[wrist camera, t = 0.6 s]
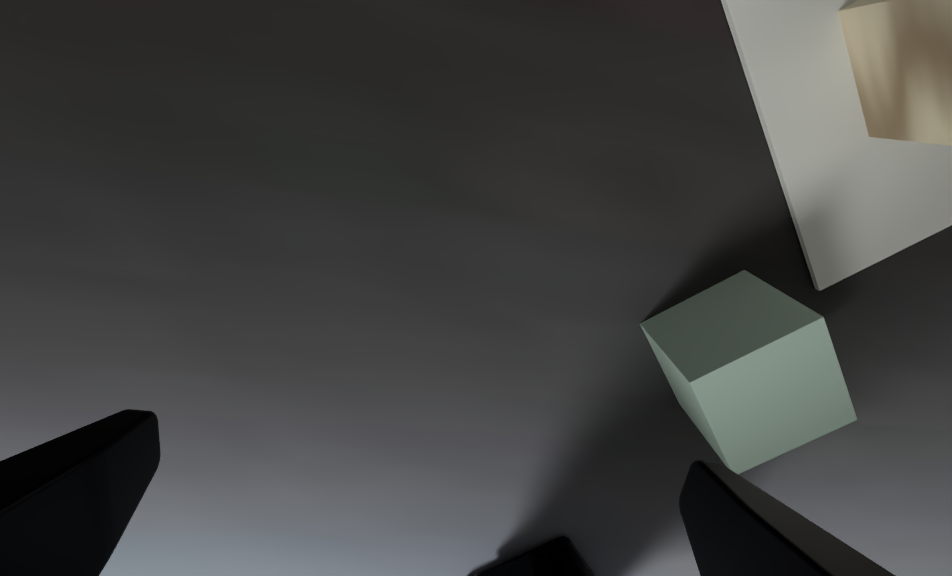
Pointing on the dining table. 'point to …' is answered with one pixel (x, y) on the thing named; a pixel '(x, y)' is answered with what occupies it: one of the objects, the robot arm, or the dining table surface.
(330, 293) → the dining table surface
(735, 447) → the sage block
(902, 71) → the maple block
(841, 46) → the white flat rectangular panel
